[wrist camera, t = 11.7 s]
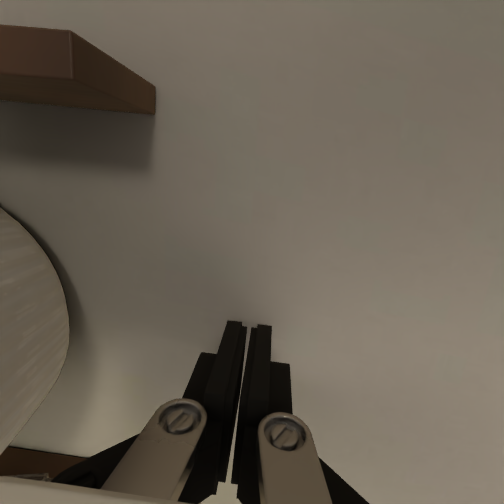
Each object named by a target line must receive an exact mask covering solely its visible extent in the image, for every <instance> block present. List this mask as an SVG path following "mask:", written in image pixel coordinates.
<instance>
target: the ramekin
mask: <svg viewBox="0 0 504 504" xmlns="http://www.w3.org/2000/svg"><path fill="white" fill-rule="evenodd" d="M68 322H69V316H68V311H67V306H66V299H65V296H64V292H63V288H62V285H61V282H60V280H59V277H58V275H57V273H56V271H55V269H54V267H53V265H52V263H51V261H50V260H49V258H48V257H47V255H46V254H45V252H44V251H43V249H42V248H41V247H40V245H39V244H38V243H37V242H36V240H35V239H34V238H33V237H32V236H31V235H30V234H29V232H28V231H27V230H26V229H25V228H23V227H22V226H21V224H20V223H19V222H18V221H16V220H15V219H13V218H12V217H11V216H10V215H8V214H7V213H6V212H5V211H4V210H3V209H2V208H0V455H1V454H2V452H3V451H4V450H5V449H6V447H7V446H8V445H9V444H10V442H11V441H12V440H13V439H14V438H15V436H16V435H17V434H18V433H19V431H20V430H21V429H22V427H23V426H24V425H25V424H26V422H27V421H28V420H29V418H30V417H31V416H32V415H33V413H34V412H35V411H36V409H37V408H38V407H39V405H40V404H41V403H42V401H43V400H44V399H45V397H46V396H47V395H48V393H49V391H50V390H51V388H52V387H53V385H54V384H55V382H56V381H57V379H58V377H59V375H60V372H61V369H62V366H63V365H64V362H65V359H66V354H67V350H68V347H69V332H70V329H69V323H68Z"/></svg>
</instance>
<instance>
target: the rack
mask: <svg viewBox="0 0 504 504" xmlns="http://www.w3.org/2000/svg"><path fill="white" fill-rule="evenodd" d="M0 100H2V101H13V102H24V103H34V104H45V105H55V106H66V107H76V108H87V109H98V110H108V111H119V112H129V113H140V114H150V115H154V114H155V86H154V85H152V84H151V83H149V82H148V81H146V80H145V79H143V78H142V77H140V76H139V75H137V74H136V73H134V72H133V71H131V70H130V69H128V68H127V67H125V66H124V65H122V64H121V63H119V62H118V61H116V60H115V59H113V58H112V57H110V56H109V55H107V54H106V53H104V52H103V51H101V50H100V49H98V48H97V47H95V46H93V45H92V44H90V43H89V42H87V41H86V40H84V39H83V38H81V37H80V36H78V35H77V34H75V33H74V32H72V31H71V30H60V29H48V28H36V27H24V26H12V25H0ZM85 459H87V458H80V457H73V456H66V455H59V454H53V453H46V452H39V451H32V450H25V449H18V448H11V447H6V449H5V450H4V451H3V452H2V454H1V455H0V476H10V475H24V474H38V473H48V476H49V478H55V477H56V476H57V475H58V474H59V473H61V472H62V471H64V470H66V469H67V468H69V467H71V466H73V465H75V464H77V463H79V462H81V461H83V460H85Z"/></svg>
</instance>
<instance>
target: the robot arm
mask: <svg viewBox="0 0 504 504" xmlns="http://www.w3.org/2000/svg"><path fill="white" fill-rule="evenodd" d="M246 334H247V327H246V326H242V322H237V321H229V320H228V321H227V324H226V327H225V331H224V334H223V337H222V340H221V343H220V346H219V349H218V352H217V354H212V353H205V352H201V354H200V356H199V358H198V361H197V363H196V365H195V368H194V370H193V373H192V375H191V378H190V380H189V382H188V385H187V387H186V390H185V392H184V395H183V397H182V398H181V399H174V400H171V401H168V402H166V403H165V404H163V405H161V406H160V407H159V408H158V409H157V410H156V412H155V413H154V415H153V416H152V417H151V419H150V420H149V422H148V423H147V424H146V426H145V427H144V429H143V430H142V431H141V433H140V434H137V435H135V436H133V437H131V438H129V439H127V440H125V441H123V442H121V443H119V444H117V445H115V446H112V447H110V448H108V449H106V450H104V451H102V452H100V453H98V454H96V455H94V456H92V457H90V458H87V459H85V460H83V461H81V462H79V463H77V464H75V465H73V466H71V467H69V468H67V469H66V470H64V471H62V472H61V473H59V474H58V475H57V476H56V477H55V478H49V476H48V473H38V474H24V475H10V476H0V504H201V502H202V501H203V500H205V499H206V498H207V497H209V496H210V495H212V494H213V495H216V492H217V486H218V481H219V482H225V481H226V475H227V469H228V463H229V457H230V451H231V445H232V439H233V433H234V427H235V421H236V415H237V409H238V403H239V397H240V403H239V412H238V422H237V431H236V441H235V450H234V459H233V469H232V478H231V483H232V484H238V489H237V498H238V499H239V500H240V502H241V503H242V504H369V503H368V502H367V501H366V500H365V499H364V498H363V497H362V496H360V495H359V494H358V493H357V492H356V491H355V490H354V489H353V488H352V487H351V486H350V485H348V484H347V483H346V482H345V481H344V480H343V479H342V478H341V477H340V476H339V475H338V474H337V473H335V472H334V471H333V470H332V469H331V468H330V467H329V466H328V465H327V464H326V463H325V462H323V461H322V460H321V459H320V458H319V457H318V454H317V451H316V448H315V444H314V441H313V438H312V434H311V432H310V430H309V428H308V426H307V425H306V424H305V423H304V422H303V421H302V420H301V419H299V418H298V417H297V416H294V415H293V413H292V396H291V379H290V365H289V364H287V363H279V362H272V361H270V360H271V334H272V326H268V325H260V324H258V326H257V328H254V327H252V328H251V334H250V340H249V346H248V352H247V358H246V365H245V371H244V377H243V383H242V389H241V381H242V371H243V362H244V352H245V343H246ZM240 390H241V396H240Z"/></svg>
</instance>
